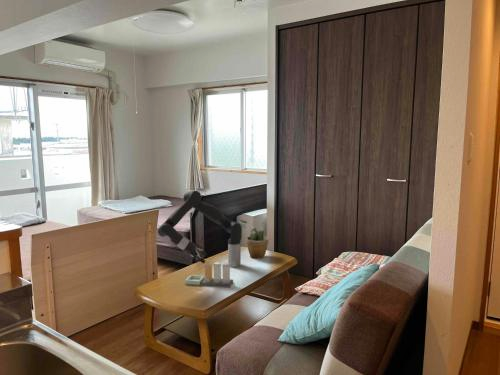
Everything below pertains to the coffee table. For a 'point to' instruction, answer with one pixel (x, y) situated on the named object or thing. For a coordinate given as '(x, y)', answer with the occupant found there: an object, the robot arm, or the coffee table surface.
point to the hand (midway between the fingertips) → (205, 258)
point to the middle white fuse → (217, 271)
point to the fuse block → (217, 283)
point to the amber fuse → (208, 270)
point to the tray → (194, 280)
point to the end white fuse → (226, 271)
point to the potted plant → (257, 243)
